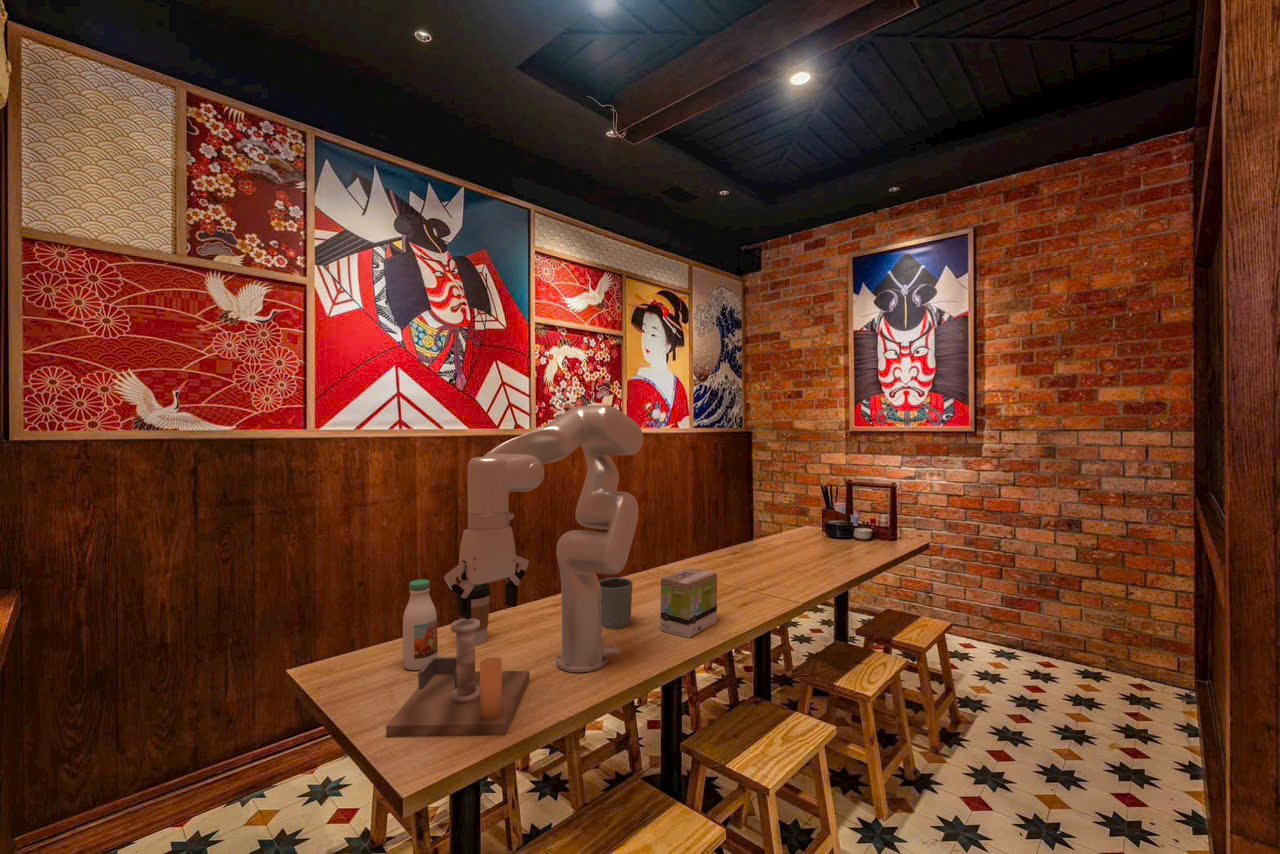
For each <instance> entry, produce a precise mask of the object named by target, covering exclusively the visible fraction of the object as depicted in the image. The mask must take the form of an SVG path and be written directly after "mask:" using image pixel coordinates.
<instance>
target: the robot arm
mask: <svg viewBox="0 0 1280 854" xmlns="http://www.w3.org/2000/svg"><path fill="white" fill-rule="evenodd" d="M643 443H644V434H643V431H642V429H641V427H640V426H639V424H638V423H637V422H636V421H635V420H634V419H632V418H631V417H630V416H628V415H627V414H625V413H624V412H623V411H621V410H620V409H617V408H616V407H614V406H611V405H607V404H599V405H598V404H596V405H595V404H593V405H577V406H574V407H571V408H570V409H568V410H567V411H565V412H563V413H562V414H561V415H559V416H558V417H557V418H555V419H554V420H552V421H550V422H549V423H548V424H546V425H544V426H543V427H541V428H537V429H534V430H532V431H529V432H526V433H524V434H521V435H519V436H516V437H513V438H511V439H508V440H506V441H504V442H501V443H499V444H498V445H496V446H495V447H493V449H491V450H489V451H488V452H487V453H485V454H484V455H483V456H476V457H473V458H471V459H469V461H468V463H467V529H463V532H462V535H461V541H460V546H459V547H460V548H459V558H458V565H456V566H455V567H454V568H452V569H451V570H449V571H448V572H447V573H446V574H444V576H443V579H444V581H445V583H446V585H447V586H448V589H449V590H450V591H451V592H453V593H454V594H455V596H457V612H458V614H459V617H460V618H461V617H463V618H465V619H467V620H468V619H470V618H471V598H470V597H468V595H469V594H470V592H471V591H472V589H473V587H474V586H475V585H481V584H486V583H487V584H489V583H494V582H498V581H503V580H506V581H507V583H505V587H504V589H505V590H504V591H505V593H504V594H505V596H504V597H505V599H504V600H505V601H504V602H505V605H508V606H510V607H512V608H515V607H518V600H519V599H518V598H519V594H518V593H519V592H518V591H519V589H518V587H519V586H520V585H521V581H522V579H523V578H524V576H525V575H526V571H527V569H528V566H529V564H530V561H529V559H527V558H524V557H522V556H519V555H517V554H516V553H517V552H516V546H515V544H516V543H515V537H514V533H513V528H512V526H510V525H509V524H510V520H514V518H515V514H514V512H510V508H509V507H510V503H509V501H510V500H509V497H510V496H509V495H510V492H519V493H520V492H522V493H525V492H531V491H533V490H535V489H537V488H538V487H539V486H540V485H541V484H542V483H543V481H544V478H545V467H544V465H546V464H547V465H548V464H551V463H556V462H559V461H562V460H564V459H566V458H567V457H569V455H571V454H572V453H573V452H575V450H577V449H578V448H579V447H581V449H582V451H583V454H584V457H585V458H584V459H585V461H586V464H587V465H586V468H587V471H586V472H587V473H586V476H585V480H584V483H583V485H582V486H583V487H582V488H581V492H580V495H579V499H578V502H577V505H576V508H575V514H574V515H575V520H576V522H577V523H578V524H579V525H580V526H582V527H585V528H589V529H597V530H607V532H605V531H595V530H584V529H574V530H569V531H567V532H565V533H563V534H561V535H560V538H559V539H558V541H557V544H556V558H557V564H558V567H559V574H560V583H561V587H560V588H561V589H560V590H561V640H562V641H561V644H562V645H561V647H562V648H561V649H562V651H561V652H559V653H558V654H557V655H556V658H555V664H556V666H557V667H558V668H559V669H561V670H563V671H565V672H569V673H570V672H571V673H588V672H592V671H596V670H599V669H602V668H604V667H605V666H606V665H607V663H608V662H609V656H617V657H618V656H621V646H617V645H616V644H615V643H611V644H610V643H609V644H607V643H605V638H604V637H602V635H603V634H602V630H603V629H602V627H603V626H602V625H601V586H600V582H599V581H600V580H599V577H598V576H597V574H602V575H603V574H604V575H610V576H611V575H617V574H619V573H621V572H622V571H623V569H624V568H625V566H626V565H627V561H628V558H629V555H630V550H631V546H632V544H633V543H632V542H633V540H634V535H635V533H636V529H637V526H638V525H637V524H638V519H639V504H638V501H637V499H636V497H635V496H634V495H633V494H631V493H629V492H627V491H619V490H618V486H619V483H620V473H619V471H618V469H617V466H616V465H615V463H614V461H613V460H612V458H611V456H633V455H635V454H637V453H638V452H639V451H640V450H641V449H642V447H643ZM517 564H518V567H517ZM457 577H458V579H459V581H461V582H460V583H459V584H458V583H457Z"/></svg>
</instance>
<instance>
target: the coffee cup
mask: <svg viewBox="0 0 1280 854" xmlns="http://www.w3.org/2000/svg"><path fill="white" fill-rule="evenodd" d="M491 594H492V591H491V589H490V585H489V583H486V584H481V585H475V586H474V587H473V589H472V591H471V592H470V594H469V595H468V597H470V598H471V618H474V619H478V620H479V621H480V627H479V629H477V630H475V646H477V645H478V646H479V645H481V644H484V643H486V642H487V640H488V628H489V627H488V626H489V617H490V616H489V615H490V614H489V613H490V602H491V600H490V595H491ZM460 619H465V618H463V617H461V616H460Z"/></svg>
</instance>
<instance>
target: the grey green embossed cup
mask: <svg viewBox="0 0 1280 854" xmlns="http://www.w3.org/2000/svg"><path fill="white" fill-rule="evenodd" d="M599 582H600V586H601V627H603V628H604V629H605V628H606V629H608V630H620V629H625V627H626V628H628V627H629V626H631V622H632V621H631V620H632V615H631V614H632V603H633V602H632V600H633V598H632V596H633V583H634V582H633V580H632V579H629V578H625V577H610V578H609V577H607V578H604V579H601V580H599Z"/></svg>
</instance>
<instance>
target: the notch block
mask: <svg viewBox="0 0 1280 854" xmlns="http://www.w3.org/2000/svg"><path fill="white" fill-rule="evenodd" d="M434 674H454V675H455V689H457V656H438V657H432V658H431V659H430V660H429V661H428V662H427V663H426V664H425V666H424V667H423V668H422V669H421V670H418V673H417V675H418V676H417V677H418V686H417V688H418V687H419V689H423V688H424V686H425V685H426V684H427V683H428V682H429V680H430V679H431V678H432V677H433V676H434Z"/></svg>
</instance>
